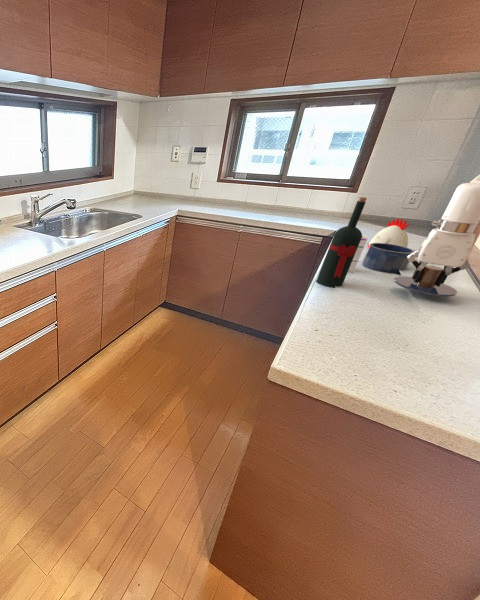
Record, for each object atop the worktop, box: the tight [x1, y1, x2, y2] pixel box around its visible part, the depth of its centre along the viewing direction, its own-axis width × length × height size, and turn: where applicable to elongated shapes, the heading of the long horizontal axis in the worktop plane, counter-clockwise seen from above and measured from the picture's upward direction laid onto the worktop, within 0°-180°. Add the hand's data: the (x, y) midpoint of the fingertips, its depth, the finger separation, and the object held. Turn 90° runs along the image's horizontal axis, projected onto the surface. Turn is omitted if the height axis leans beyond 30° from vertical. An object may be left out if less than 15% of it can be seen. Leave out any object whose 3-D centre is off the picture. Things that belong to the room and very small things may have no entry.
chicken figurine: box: [367, 218, 410, 249], centre depth 152 cm, size 14×14×15 cm
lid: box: [393, 264, 458, 298], centre depth 104 cm, size 15×15×7 cm
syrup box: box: [348, 234, 369, 273], centre depth 126 cm, size 6×6×14 cm
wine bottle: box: [315, 196, 367, 289], centre depth 109 cm, size 8×10×30 cm
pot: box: [361, 243, 416, 275], centre depth 131 cm, size 14×19×8 cm
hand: (426, 282), depth 105 cm, fingers closed on lid, 4 cm apart
